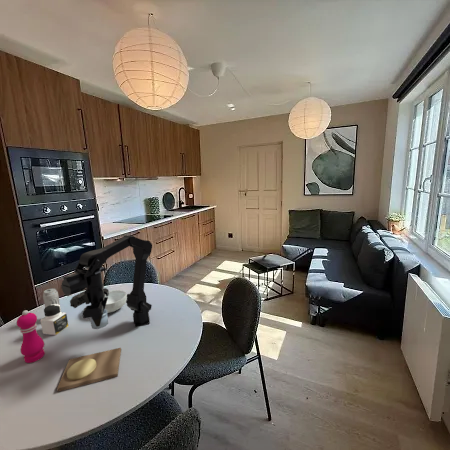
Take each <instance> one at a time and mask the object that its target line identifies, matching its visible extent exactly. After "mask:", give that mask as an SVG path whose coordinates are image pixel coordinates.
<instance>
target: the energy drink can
mask: <svg viewBox="0 0 450 450" xmlns="http://www.w3.org/2000/svg"><path fill="white" fill-rule="evenodd" d="M42 299H43V304H44V309H45V308H46V307H47V306H49V305H52V304H59V305H60V309H61V310H62V308H61V303H60V296H59V292H58V290H57V288H48V289H46V290H44V291H43V294H42Z"/></svg>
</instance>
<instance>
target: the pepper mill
mask: <svg viewBox="0 0 450 450" xmlns="http://www.w3.org/2000/svg"><path fill="white" fill-rule="evenodd" d="M37 320H38V316H37V315H36V313H34V312H29V311H28V310H23V311H22V314H21V315H19V317H18V318H17V319H16V325H17V327H18V328H19V330H20V333H21V334H22V343H21V345H20V353H21V355H22V356H23V359H24V362H25V363H26V364H32V363H35V362H37V361H39V360H41V359H42V358H44V356H45V354H46V353H45V349H44V347H45V341H44V340H43V338H42V337H41V336H40V334H38V331H37V327H38V325H37V324H38V323H37Z"/></svg>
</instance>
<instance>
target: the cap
mask: <svg viewBox="0 0 450 450" xmlns="http://www.w3.org/2000/svg"><path fill="white" fill-rule="evenodd" d="M108 314H109V313H108V312H107V310H106V309H104V312H103V315H102V319H101V323H100V326H96V325H95V323H94V321H93V319H92V318H91V317H89V318H88V319H89V320H90V326H91V329H93V330H99V329H103V328H105V327H106V326H108V324H109V317H108Z"/></svg>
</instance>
